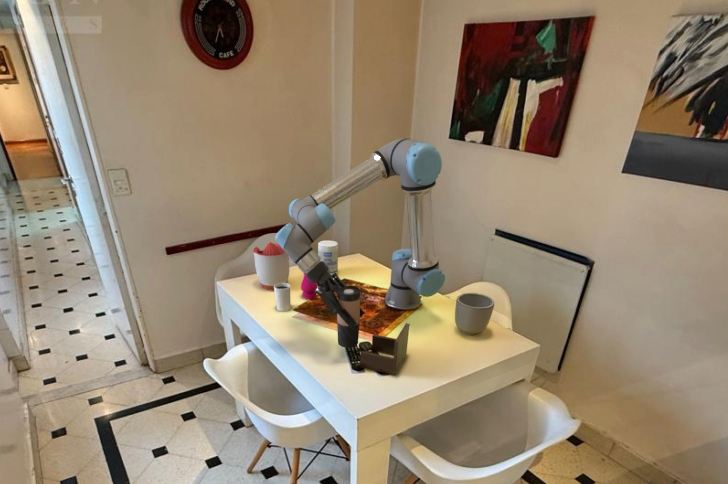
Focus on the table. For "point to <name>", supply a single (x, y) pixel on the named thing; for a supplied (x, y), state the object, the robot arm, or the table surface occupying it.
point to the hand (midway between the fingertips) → (357, 320)
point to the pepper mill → (308, 288)
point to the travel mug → (351, 304)
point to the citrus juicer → (271, 265)
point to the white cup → (282, 296)
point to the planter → (473, 312)
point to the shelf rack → (386, 346)
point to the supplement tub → (329, 255)
